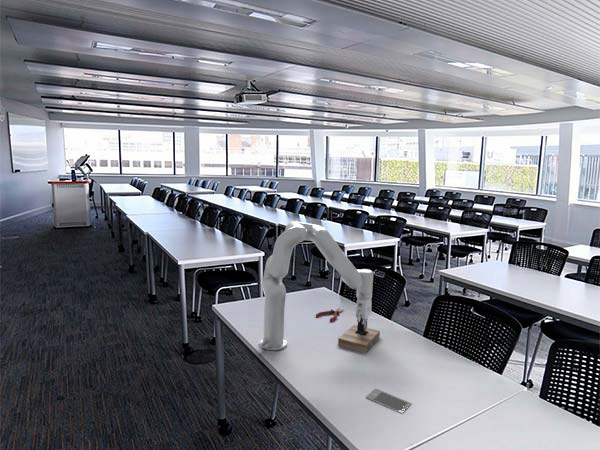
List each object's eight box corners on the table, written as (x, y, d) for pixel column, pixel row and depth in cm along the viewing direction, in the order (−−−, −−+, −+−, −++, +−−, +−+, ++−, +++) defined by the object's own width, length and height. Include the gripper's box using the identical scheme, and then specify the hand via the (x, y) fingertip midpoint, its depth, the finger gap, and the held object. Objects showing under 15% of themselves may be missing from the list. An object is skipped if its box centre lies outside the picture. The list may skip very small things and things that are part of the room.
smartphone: (412, 404, 150) (412, 403, 150) (402, 415, 144) (402, 413, 143) (375, 389, 159) (375, 387, 159) (365, 398, 153) (365, 397, 153)
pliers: (350, 313, 239) (350, 309, 239) (331, 323, 223) (331, 318, 223) (333, 308, 246) (333, 304, 246) (314, 318, 230) (314, 313, 230)
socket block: (365, 352, 189) (365, 345, 188) (338, 345, 196) (338, 338, 195) (379, 337, 206) (379, 330, 206) (353, 330, 213) (354, 324, 212)
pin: (364, 336, 201) (365, 319, 199) (357, 334, 202) (358, 317, 201) (366, 334, 204) (367, 317, 202) (359, 332, 206) (360, 315, 204)
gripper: (365, 300, 191) (363, 337, 194) (377, 291, 205) (374, 325, 208) (350, 297, 195) (348, 333, 197) (363, 288, 209) (361, 322, 212)
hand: (362, 329), depth 203 cm, fingers closed on pin, 3 cm apart
